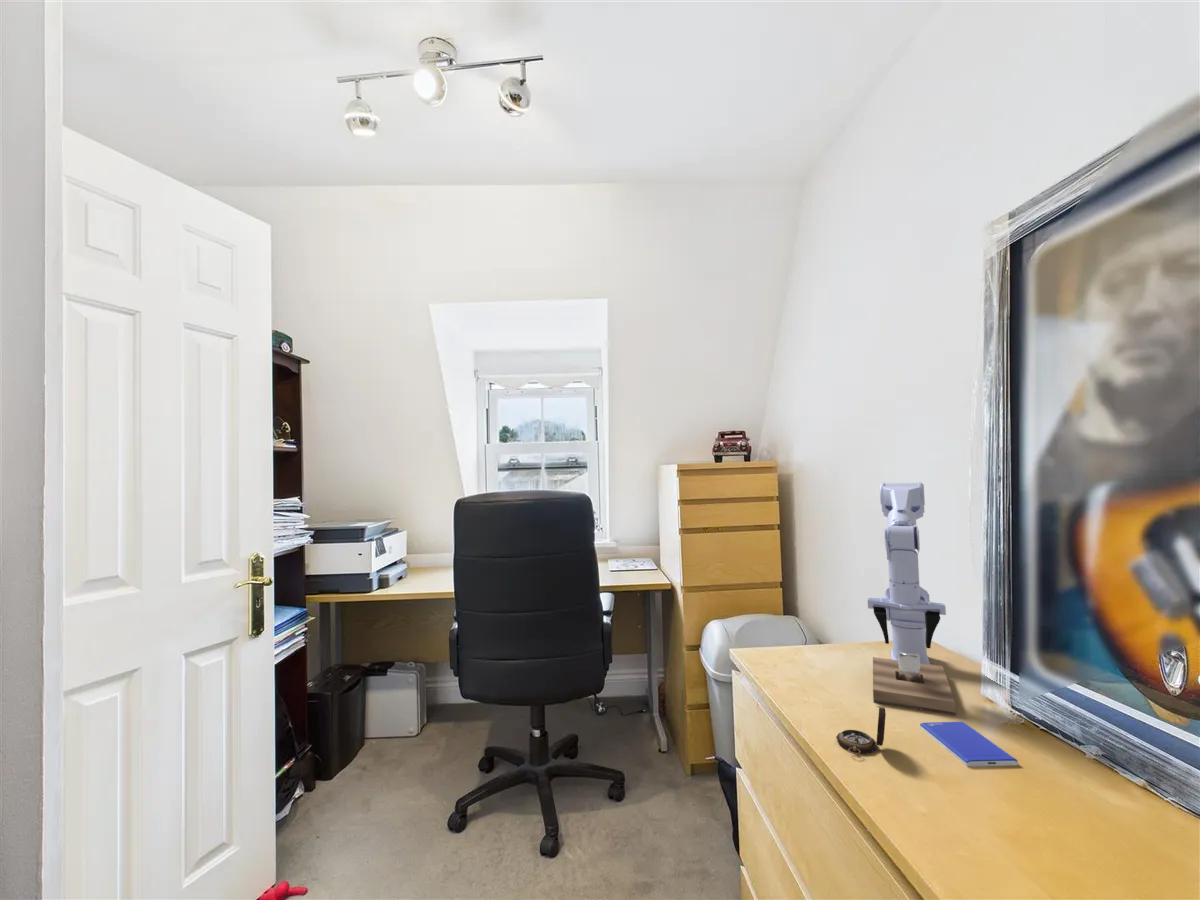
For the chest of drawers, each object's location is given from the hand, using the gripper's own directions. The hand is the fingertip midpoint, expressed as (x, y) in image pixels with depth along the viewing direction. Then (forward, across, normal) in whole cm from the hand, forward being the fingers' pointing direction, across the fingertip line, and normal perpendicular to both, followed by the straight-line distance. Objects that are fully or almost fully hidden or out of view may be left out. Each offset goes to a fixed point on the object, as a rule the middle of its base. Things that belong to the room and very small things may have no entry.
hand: (907, 644), depth 113 cm
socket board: (+9, 0, 0) cm, 9 cm away
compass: (+10, -9, -30) cm, 33 cm away
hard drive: (+10, +7, -22) cm, 25 cm away
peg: (+9, 0, 0) cm, 9 cm away
